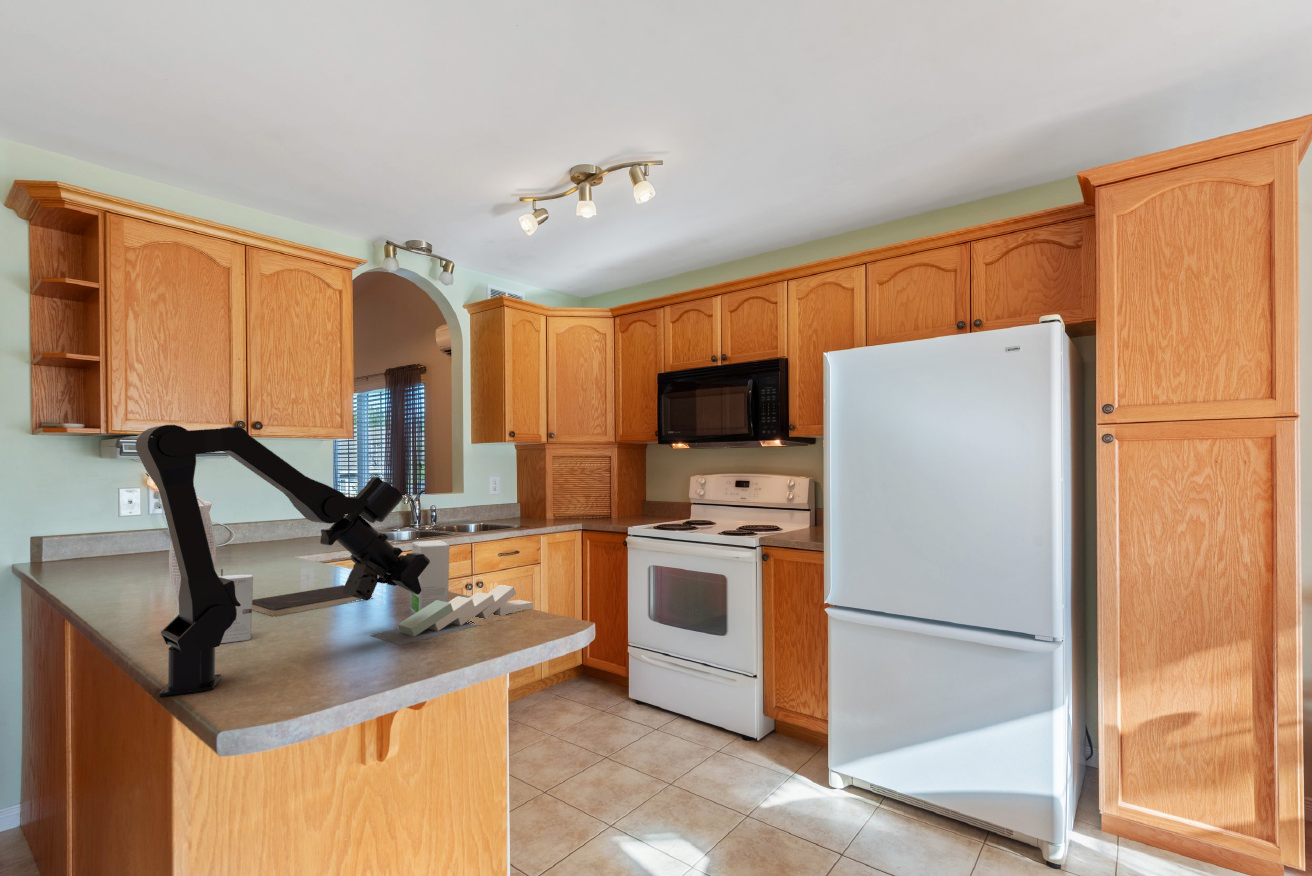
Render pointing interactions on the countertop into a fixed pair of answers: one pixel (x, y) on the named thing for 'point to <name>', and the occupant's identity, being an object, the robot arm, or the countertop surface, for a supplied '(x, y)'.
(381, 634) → the mat
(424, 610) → the domino
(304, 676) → the countertop surface
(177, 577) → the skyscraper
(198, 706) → the countertop surface
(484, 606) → the domino
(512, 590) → the domino
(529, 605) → the domino
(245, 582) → the skincare box
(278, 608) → the hardcover book
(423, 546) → the skincare box
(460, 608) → the domino
